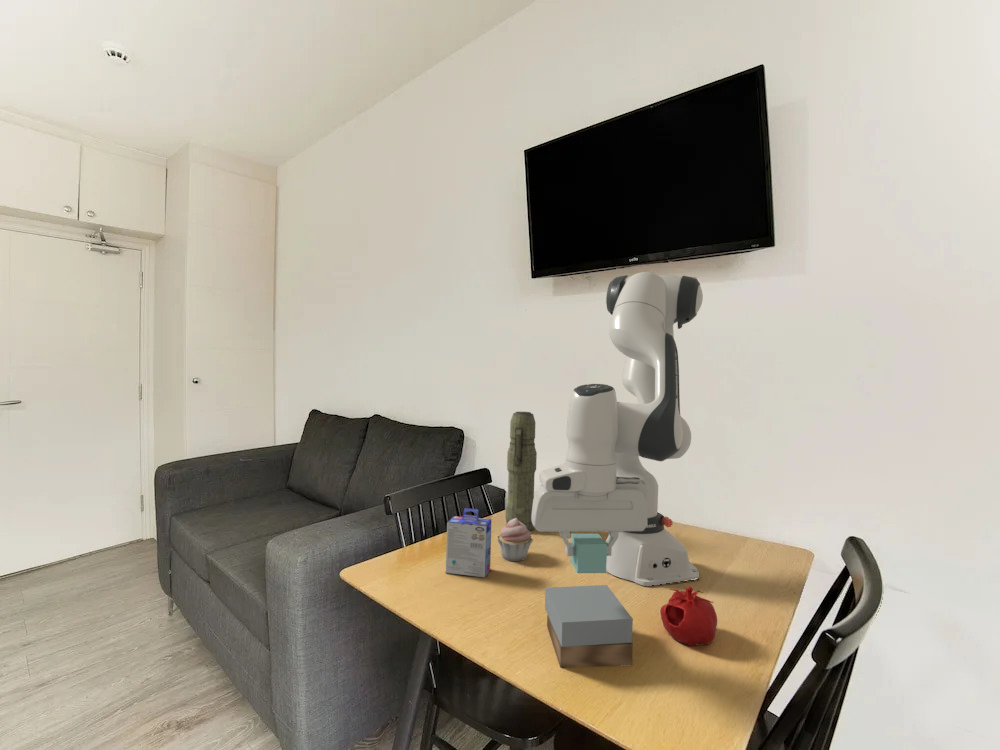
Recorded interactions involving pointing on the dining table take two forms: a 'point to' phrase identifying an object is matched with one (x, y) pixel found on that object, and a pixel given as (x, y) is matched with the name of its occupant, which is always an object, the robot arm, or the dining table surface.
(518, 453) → the thermos
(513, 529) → the cupcake
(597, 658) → the tower bottom slab
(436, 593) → the dining table surface
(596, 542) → the teal cube
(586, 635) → the tower top slab
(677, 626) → the pomegranate
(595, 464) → the robot arm
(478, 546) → the ink cartridge box
